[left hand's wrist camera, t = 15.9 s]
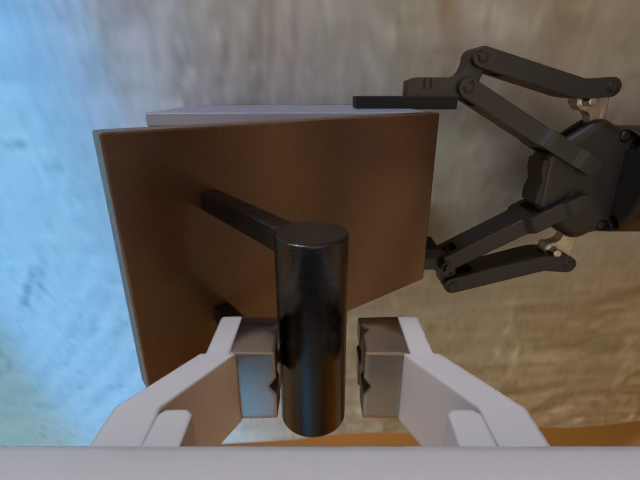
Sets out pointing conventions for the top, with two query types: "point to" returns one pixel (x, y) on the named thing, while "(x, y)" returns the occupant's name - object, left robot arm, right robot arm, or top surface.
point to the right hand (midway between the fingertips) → (352, 179)
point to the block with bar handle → (267, 236)
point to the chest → (256, 113)
